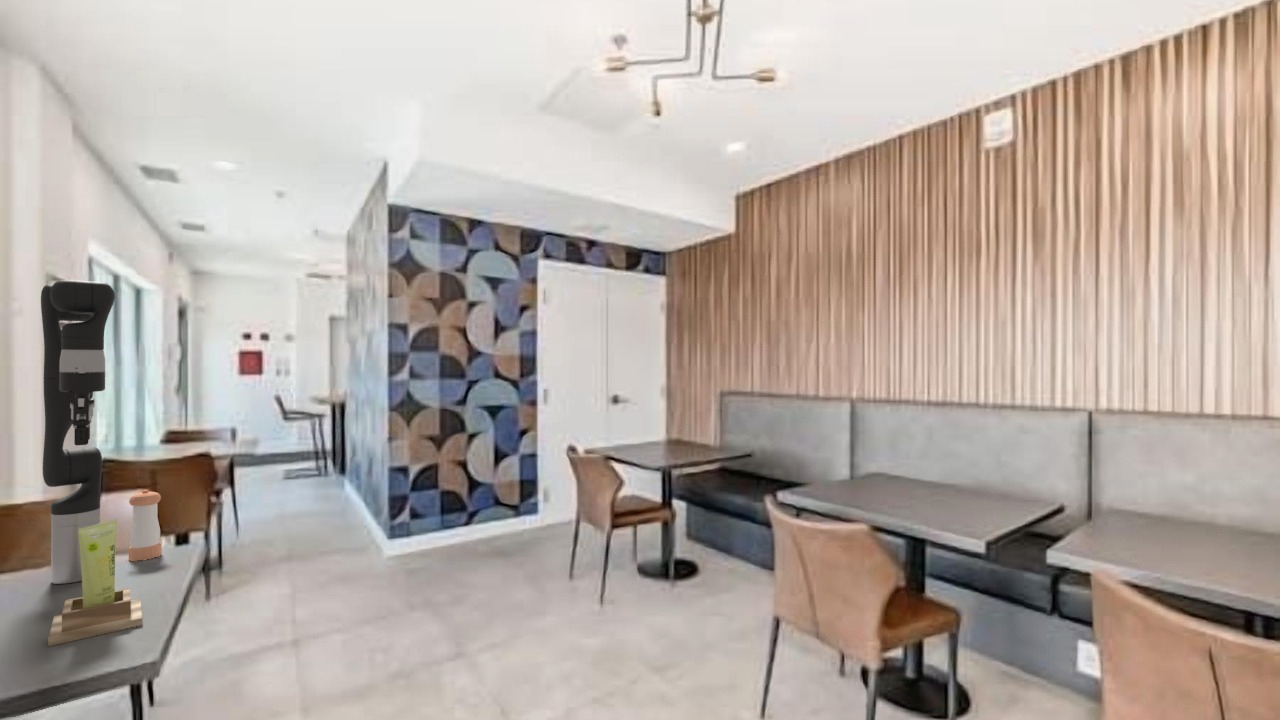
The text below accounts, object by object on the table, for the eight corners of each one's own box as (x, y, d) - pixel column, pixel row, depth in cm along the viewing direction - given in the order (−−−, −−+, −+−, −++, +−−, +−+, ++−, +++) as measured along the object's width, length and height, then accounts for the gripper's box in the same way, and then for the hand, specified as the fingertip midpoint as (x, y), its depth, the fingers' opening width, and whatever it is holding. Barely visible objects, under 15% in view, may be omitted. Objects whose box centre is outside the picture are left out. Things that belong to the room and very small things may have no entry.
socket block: (54, 623, 127) (54, 599, 127) (140, 605, 136) (140, 583, 136) (48, 646, 117) (48, 620, 117) (142, 625, 126) (142, 601, 126)
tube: (110, 619, 125) (110, 524, 126) (78, 624, 123) (77, 528, 123) (117, 609, 130) (117, 519, 131) (86, 614, 128) (86, 522, 128)
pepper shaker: (122, 562, 168) (122, 492, 168) (139, 554, 175) (139, 487, 175) (151, 560, 169) (151, 491, 169) (167, 552, 176) (167, 486, 176)
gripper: (61, 369, 138) (61, 440, 138) (56, 371, 127) (56, 448, 127) (105, 369, 143) (105, 437, 143) (104, 370, 132) (104, 445, 132)
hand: (82, 442), depth 135 cm, fingers open, 8 cm apart
